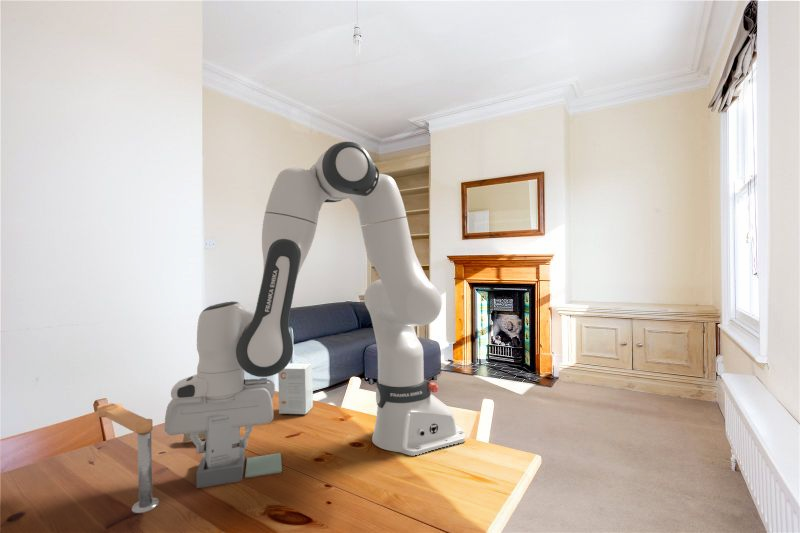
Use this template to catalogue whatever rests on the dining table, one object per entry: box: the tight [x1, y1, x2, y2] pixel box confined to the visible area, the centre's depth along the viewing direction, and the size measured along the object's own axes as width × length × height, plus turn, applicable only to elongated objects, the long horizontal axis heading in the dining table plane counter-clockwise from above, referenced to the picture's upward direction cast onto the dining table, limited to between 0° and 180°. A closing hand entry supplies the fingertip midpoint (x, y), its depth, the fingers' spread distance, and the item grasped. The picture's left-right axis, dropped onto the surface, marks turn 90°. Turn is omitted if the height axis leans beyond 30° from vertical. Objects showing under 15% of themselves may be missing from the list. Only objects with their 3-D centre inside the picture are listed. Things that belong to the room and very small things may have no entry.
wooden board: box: [96, 402, 153, 435], centre depth 74 cm, size 19×4×2 cm, turn 55°
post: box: [131, 430, 160, 514], centre depth 70 cm, size 4×4×13 cm
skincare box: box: [204, 415, 241, 469], centre depth 81 cm, size 6×4×12 cm
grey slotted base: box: [195, 447, 246, 489], centre depth 81 cm, size 8×10×3 cm
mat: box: [244, 452, 283, 479], centre depth 84 cm, size 7×8×1 cm
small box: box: [277, 362, 314, 415], centre depth 116 cm, size 8×6×13 cm
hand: (222, 449), depth 82 cm, fingers closed on skincare box, 6 cm apart
